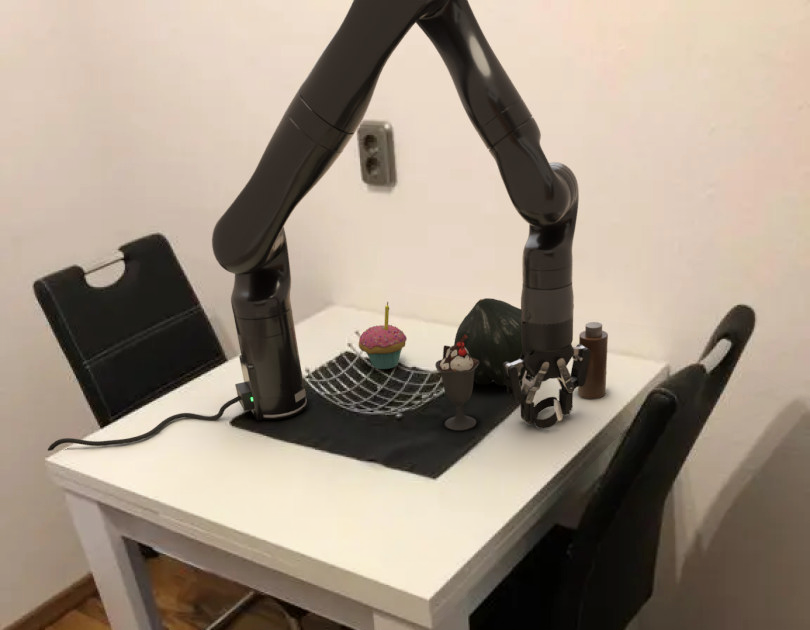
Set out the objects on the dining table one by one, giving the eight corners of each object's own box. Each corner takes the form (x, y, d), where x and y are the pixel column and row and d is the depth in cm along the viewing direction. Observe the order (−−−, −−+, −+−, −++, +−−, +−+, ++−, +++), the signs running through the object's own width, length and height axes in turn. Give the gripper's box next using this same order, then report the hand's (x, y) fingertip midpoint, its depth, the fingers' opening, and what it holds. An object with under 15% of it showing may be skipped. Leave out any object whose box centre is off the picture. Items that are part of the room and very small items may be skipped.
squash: (557, 329, 158) (498, 267, 153) (554, 367, 146) (490, 301, 141) (498, 379, 165) (440, 322, 161) (490, 419, 153) (427, 358, 149)
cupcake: (416, 359, 166) (411, 295, 159) (391, 376, 160) (385, 311, 154) (378, 352, 170) (371, 289, 164) (352, 369, 164) (344, 305, 158)
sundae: (479, 433, 139) (475, 340, 131) (436, 432, 141) (429, 340, 133) (484, 414, 145) (481, 324, 136) (443, 414, 146) (437, 324, 138)
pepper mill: (586, 401, 146) (589, 332, 139) (572, 391, 149) (574, 323, 143) (610, 394, 147) (613, 326, 140) (596, 385, 150) (598, 317, 144)
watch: (560, 432, 138) (560, 410, 136) (529, 431, 139) (529, 409, 137) (564, 409, 144) (564, 388, 142) (534, 409, 145) (534, 388, 143)
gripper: (577, 295, 136) (574, 398, 146) (491, 315, 133) (494, 419, 142) (604, 310, 131) (599, 416, 140) (514, 330, 127) (516, 438, 136)
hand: (546, 417), depth 141 cm, fingers closed on watch, 5 cm apart
